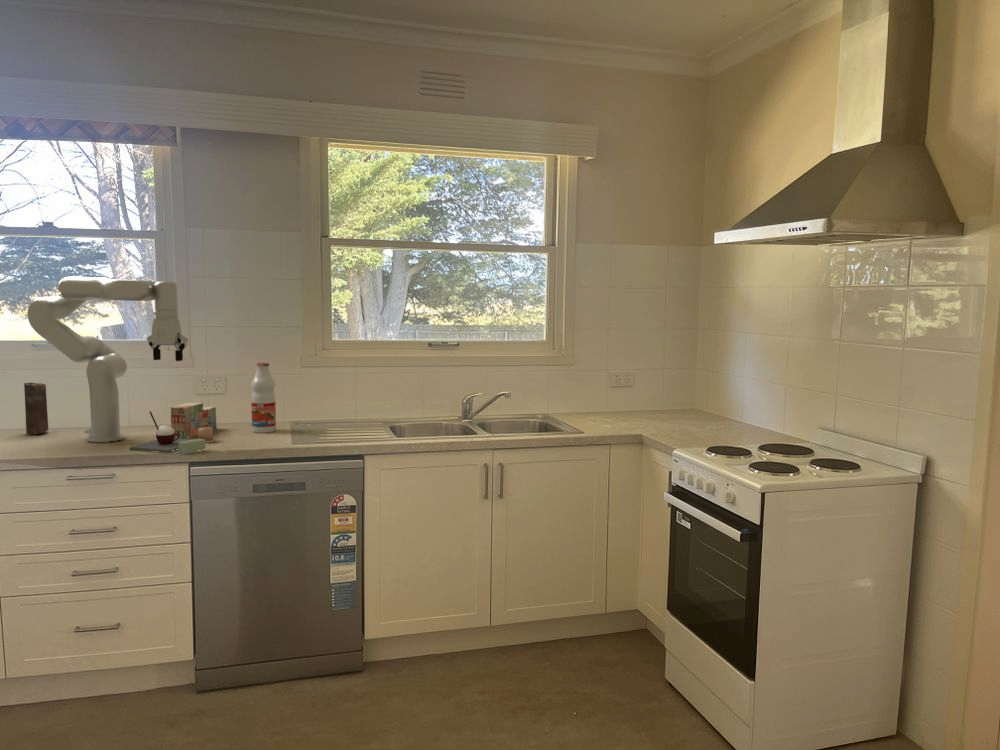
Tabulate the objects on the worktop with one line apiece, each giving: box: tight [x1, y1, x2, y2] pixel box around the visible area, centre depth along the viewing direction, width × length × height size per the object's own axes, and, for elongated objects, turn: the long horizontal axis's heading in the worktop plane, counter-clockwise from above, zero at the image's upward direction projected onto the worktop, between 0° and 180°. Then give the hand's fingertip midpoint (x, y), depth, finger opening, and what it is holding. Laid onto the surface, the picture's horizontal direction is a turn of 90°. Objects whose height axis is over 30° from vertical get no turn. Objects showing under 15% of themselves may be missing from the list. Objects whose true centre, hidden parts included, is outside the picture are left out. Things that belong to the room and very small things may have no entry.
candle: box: [23, 382, 49, 436], centre depth 284 cm, size 8×7×20 cm
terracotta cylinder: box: [197, 427, 214, 441], centre depth 277 cm, size 5×5×5 cm
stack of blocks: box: [170, 401, 217, 439], centre depth 291 cm, size 21×6×12 cm, turn 170°
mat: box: [128, 438, 188, 454], centre depth 266 cm, size 16×18×1 cm
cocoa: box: [149, 410, 180, 445], centre depth 265 cm, size 10×6×12 cm, turn 97°
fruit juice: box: [250, 362, 277, 434], centre depth 297 cm, size 9×9×28 cm
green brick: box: [177, 437, 207, 455], centre depth 259 cm, size 4×8×4 cm, turn 143°
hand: (168, 360), depth 275 cm, fingers open, 9 cm apart
